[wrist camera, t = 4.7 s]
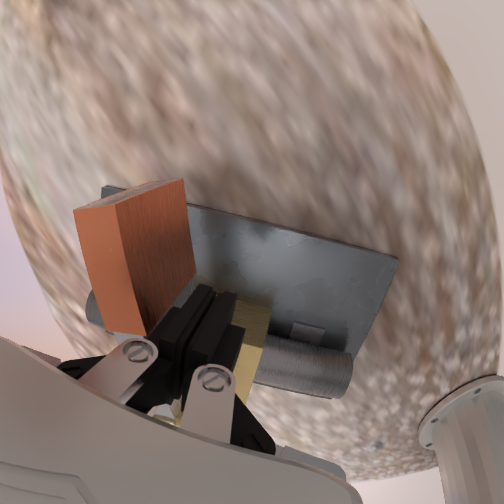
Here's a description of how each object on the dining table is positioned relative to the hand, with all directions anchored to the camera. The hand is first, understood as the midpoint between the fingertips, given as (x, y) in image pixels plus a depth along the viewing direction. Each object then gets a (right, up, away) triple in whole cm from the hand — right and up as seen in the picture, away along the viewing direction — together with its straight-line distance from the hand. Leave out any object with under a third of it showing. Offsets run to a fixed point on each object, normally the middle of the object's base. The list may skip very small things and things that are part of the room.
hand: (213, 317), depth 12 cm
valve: (0, -1, +10) cm, 10 cm away
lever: (-2, 0, +4) cm, 5 cm away
